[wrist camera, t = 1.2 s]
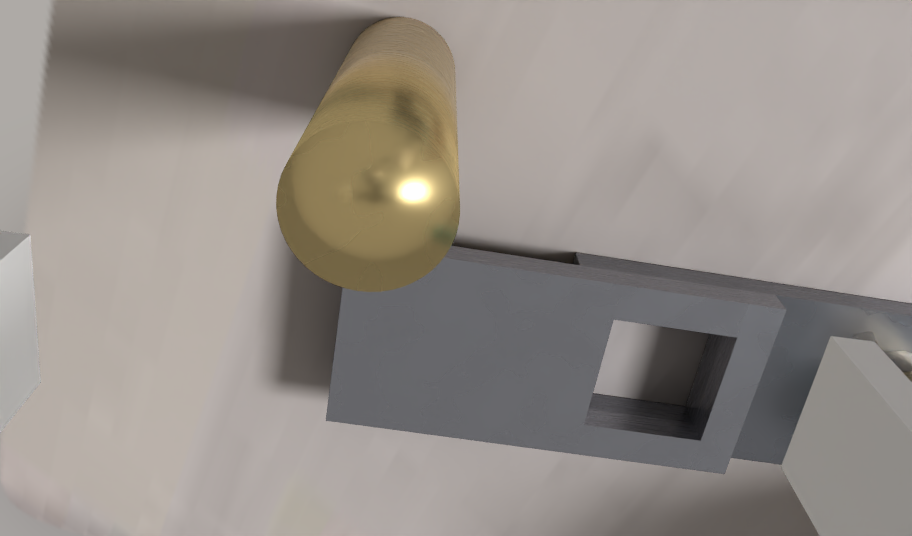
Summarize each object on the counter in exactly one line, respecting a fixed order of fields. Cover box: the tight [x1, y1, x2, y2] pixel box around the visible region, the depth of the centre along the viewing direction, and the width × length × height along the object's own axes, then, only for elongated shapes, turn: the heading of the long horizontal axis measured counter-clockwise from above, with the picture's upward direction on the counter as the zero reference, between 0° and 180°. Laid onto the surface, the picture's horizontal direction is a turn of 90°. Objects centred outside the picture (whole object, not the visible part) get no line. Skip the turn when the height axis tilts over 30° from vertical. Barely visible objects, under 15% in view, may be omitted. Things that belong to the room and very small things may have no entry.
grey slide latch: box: [326, 246, 912, 474], centre depth 33 cm, size 8×26×6 cm, turn 80°
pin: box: [276, 17, 460, 292], centre depth 25 cm, size 4×4×14 cm
